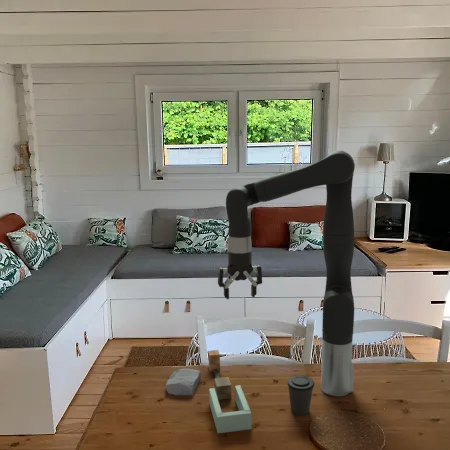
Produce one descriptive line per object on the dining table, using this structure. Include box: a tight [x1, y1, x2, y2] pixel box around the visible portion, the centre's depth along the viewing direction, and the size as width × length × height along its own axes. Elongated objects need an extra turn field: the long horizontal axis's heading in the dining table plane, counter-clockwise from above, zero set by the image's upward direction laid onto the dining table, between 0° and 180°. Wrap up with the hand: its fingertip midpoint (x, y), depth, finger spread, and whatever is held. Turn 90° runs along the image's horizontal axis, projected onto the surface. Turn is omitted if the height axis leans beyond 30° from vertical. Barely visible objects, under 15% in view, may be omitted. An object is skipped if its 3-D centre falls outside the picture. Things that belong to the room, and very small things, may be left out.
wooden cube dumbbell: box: [207, 349, 232, 401], centre depth 157 cm, size 4×21×6 cm, turn 10°
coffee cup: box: [286, 375, 316, 417], centre depth 140 cm, size 8×8×10 cm
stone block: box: [165, 368, 202, 397], centre depth 156 cm, size 12×5×10 cm
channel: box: [208, 384, 252, 434], centre depth 139 cm, size 10×15×5 cm, turn 10°
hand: (240, 297), depth 156 cm, fingers open, 8 cm apart
